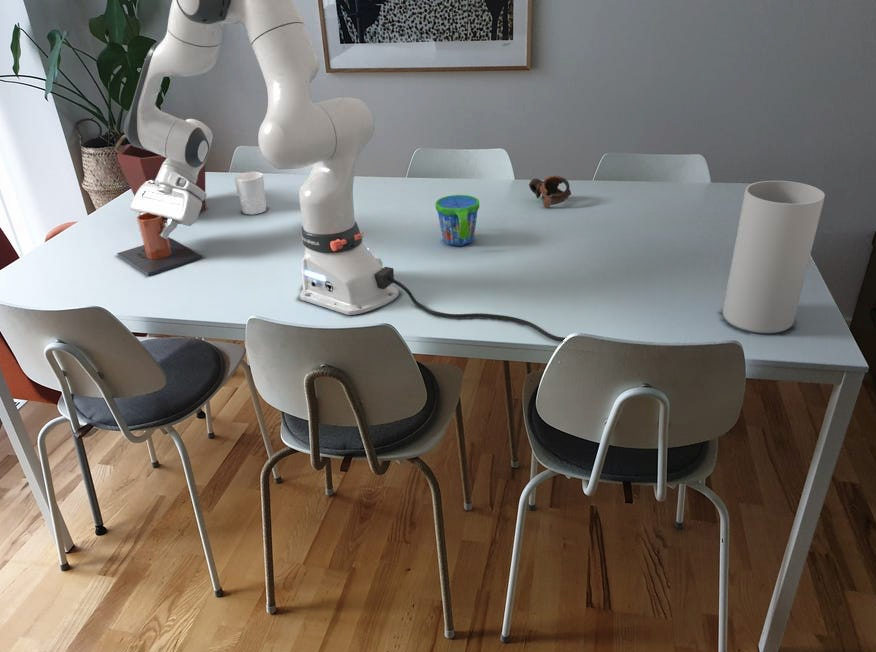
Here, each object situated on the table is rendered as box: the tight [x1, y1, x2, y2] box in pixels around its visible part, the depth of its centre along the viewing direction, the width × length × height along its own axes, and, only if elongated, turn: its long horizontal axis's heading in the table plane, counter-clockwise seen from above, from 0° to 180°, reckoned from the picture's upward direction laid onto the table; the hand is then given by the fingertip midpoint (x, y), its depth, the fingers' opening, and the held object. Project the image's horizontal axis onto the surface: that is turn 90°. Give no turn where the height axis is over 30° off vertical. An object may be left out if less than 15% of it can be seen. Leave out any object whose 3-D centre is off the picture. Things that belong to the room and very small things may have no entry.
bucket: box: [114, 134, 207, 223], centre depth 204 cm, size 24×22×25 cm
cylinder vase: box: [722, 180, 826, 334], centre depth 134 cm, size 12×12×25 cm
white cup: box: [233, 171, 267, 215], centre depth 206 cm, size 8×8×10 cm
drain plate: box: [116, 236, 203, 277], centre depth 182 cm, size 18×14×1 cm
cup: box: [136, 212, 172, 259], centre depth 179 cm, size 6×6×10 cm
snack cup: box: [435, 194, 481, 247], centre depth 179 cm, size 16×10×10 cm
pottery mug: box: [528, 175, 572, 209], centre depth 200 cm, size 12×10×8 cm
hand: (152, 235), depth 179 cm, fingers closed on cup, 6 cm apart
